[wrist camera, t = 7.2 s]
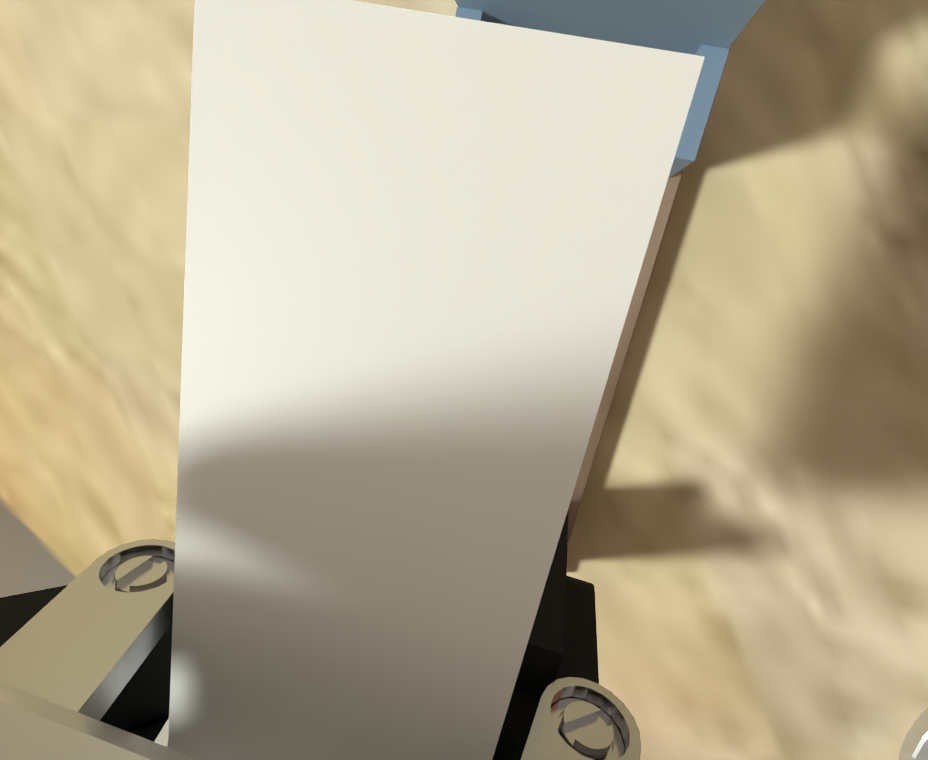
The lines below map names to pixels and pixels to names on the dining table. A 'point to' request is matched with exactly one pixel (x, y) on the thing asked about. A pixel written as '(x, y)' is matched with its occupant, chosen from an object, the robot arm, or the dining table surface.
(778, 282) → the dining table surface
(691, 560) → the dining table surface
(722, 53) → the sliding end cap
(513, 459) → the slat
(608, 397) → the endcap rack
